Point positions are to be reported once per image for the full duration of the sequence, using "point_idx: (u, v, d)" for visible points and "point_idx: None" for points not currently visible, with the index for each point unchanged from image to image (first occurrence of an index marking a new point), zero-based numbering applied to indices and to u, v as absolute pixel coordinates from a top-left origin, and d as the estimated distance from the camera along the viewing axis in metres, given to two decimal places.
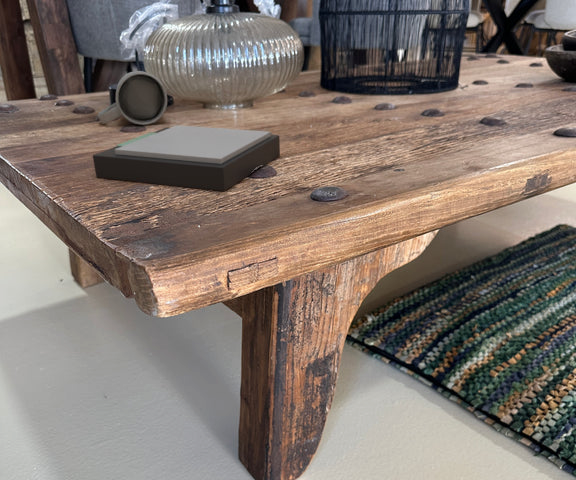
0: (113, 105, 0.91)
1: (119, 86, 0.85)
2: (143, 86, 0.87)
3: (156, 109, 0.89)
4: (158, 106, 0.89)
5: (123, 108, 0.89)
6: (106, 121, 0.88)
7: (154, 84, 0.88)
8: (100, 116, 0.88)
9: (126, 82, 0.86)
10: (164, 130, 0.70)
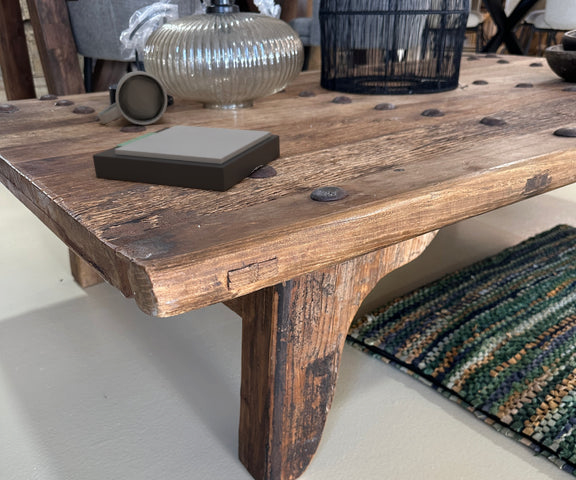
0: (113, 105, 0.91)
1: (119, 86, 0.85)
2: (143, 86, 0.87)
3: (156, 109, 0.89)
4: (158, 106, 0.89)
5: (123, 108, 0.89)
6: (106, 121, 0.88)
7: (154, 84, 0.88)
8: (100, 116, 0.88)
9: (126, 82, 0.86)
10: (164, 130, 0.70)
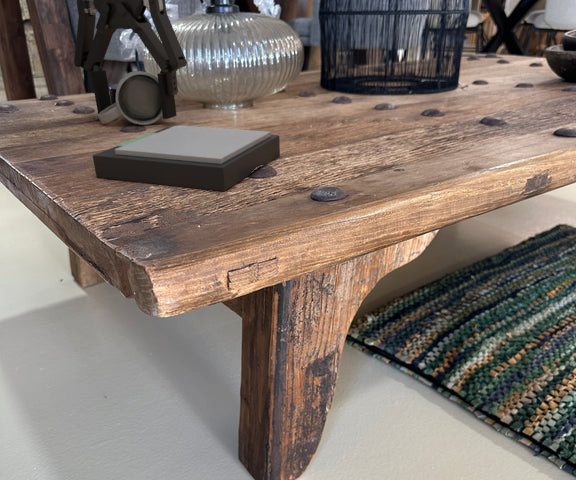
0: (113, 105, 0.91)
1: (119, 86, 0.85)
2: (143, 86, 0.87)
3: (156, 109, 0.89)
4: (158, 106, 0.89)
5: (123, 108, 0.89)
6: (106, 121, 0.88)
7: (154, 84, 0.88)
8: (100, 116, 0.88)
9: (126, 82, 0.86)
10: (164, 130, 0.70)
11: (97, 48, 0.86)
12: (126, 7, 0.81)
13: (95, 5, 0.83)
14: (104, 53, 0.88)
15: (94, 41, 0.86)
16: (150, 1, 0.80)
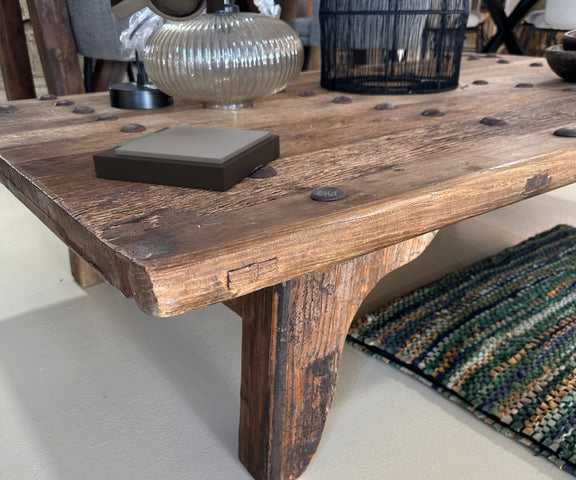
0: None
1: None
2: None
3: (196, 0, 0.62)
4: None
5: None
6: (124, 15, 0.61)
7: None
8: (116, 7, 0.60)
9: None
10: (164, 130, 0.70)
11: None
12: None
13: None
14: None
15: None
16: None
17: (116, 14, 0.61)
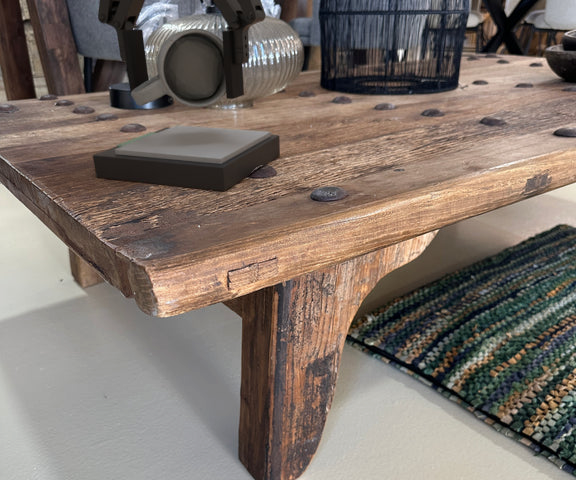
0: (152, 80, 0.64)
1: (166, 49, 0.58)
2: (199, 51, 0.60)
3: (215, 85, 0.62)
4: (218, 81, 0.62)
5: (168, 83, 0.62)
6: (144, 101, 0.61)
7: (214, 49, 0.61)
8: (135, 94, 0.61)
9: (174, 45, 0.59)
10: (164, 130, 0.70)
11: None
12: None
13: None
14: (141, 3, 0.61)
15: None
16: None
17: (136, 100, 0.61)
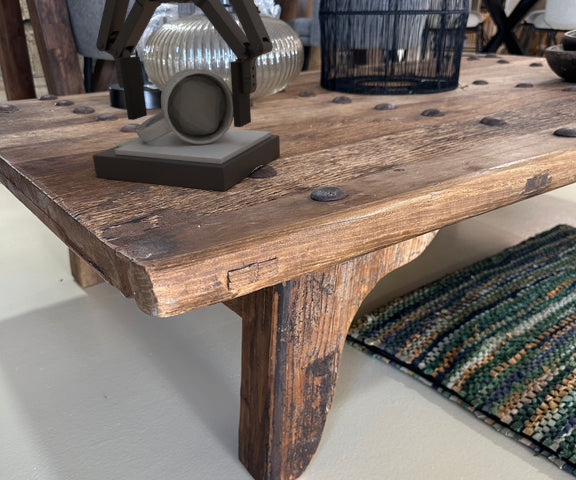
0: (156, 116, 0.66)
1: (169, 90, 0.59)
2: (202, 90, 0.62)
3: (217, 122, 0.64)
4: (220, 118, 0.64)
5: (172, 121, 0.64)
6: (149, 139, 0.63)
7: (216, 87, 0.63)
8: (140, 132, 0.63)
9: (178, 84, 0.61)
10: None
11: (132, 27, 0.61)
12: None
13: None
14: (140, 34, 0.63)
15: (129, 17, 0.60)
16: None
17: (140, 137, 0.63)
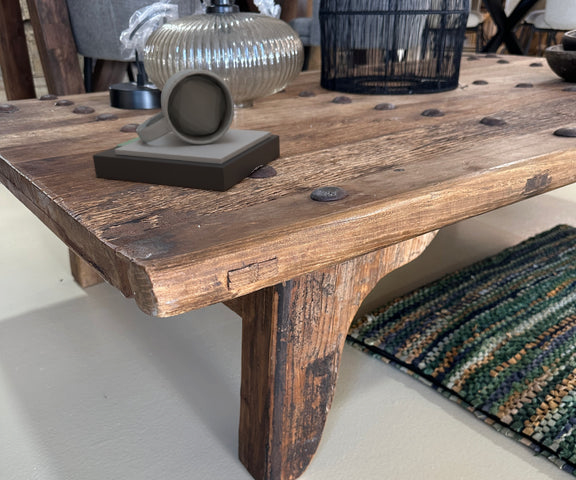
0: (156, 116, 0.66)
1: (169, 90, 0.59)
2: (202, 90, 0.62)
3: (217, 122, 0.64)
4: (220, 118, 0.64)
5: (172, 121, 0.64)
6: (149, 139, 0.63)
7: (216, 87, 0.63)
8: (140, 132, 0.63)
9: (178, 84, 0.61)
10: None
11: None
12: None
13: None
14: None
15: None
16: None
17: (140, 137, 0.63)
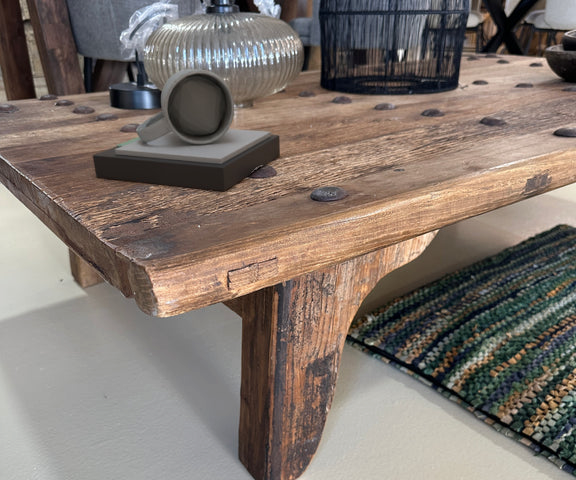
0: (156, 116, 0.66)
1: (169, 90, 0.59)
2: (202, 90, 0.62)
3: (217, 122, 0.64)
4: (220, 118, 0.64)
5: (172, 121, 0.64)
6: (149, 139, 0.63)
7: (216, 87, 0.63)
8: (140, 132, 0.63)
9: (178, 84, 0.61)
10: None
11: None
12: None
13: None
14: None
15: None
16: None
17: (140, 137, 0.63)
